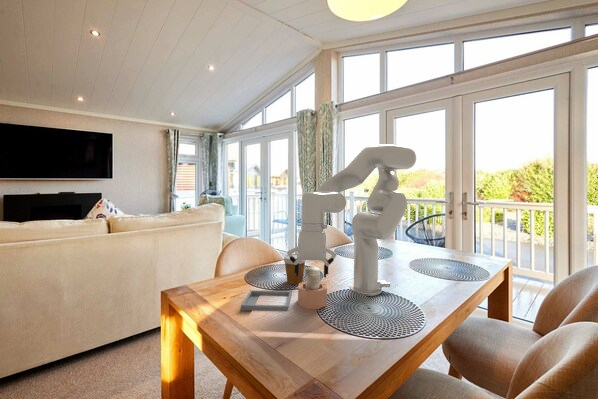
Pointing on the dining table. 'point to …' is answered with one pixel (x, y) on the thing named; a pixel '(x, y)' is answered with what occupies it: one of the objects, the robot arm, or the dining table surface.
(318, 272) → the peg
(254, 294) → the tray
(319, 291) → the terracotta octagonal pot
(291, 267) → the disposable coffee cup
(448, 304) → the dining table surface
